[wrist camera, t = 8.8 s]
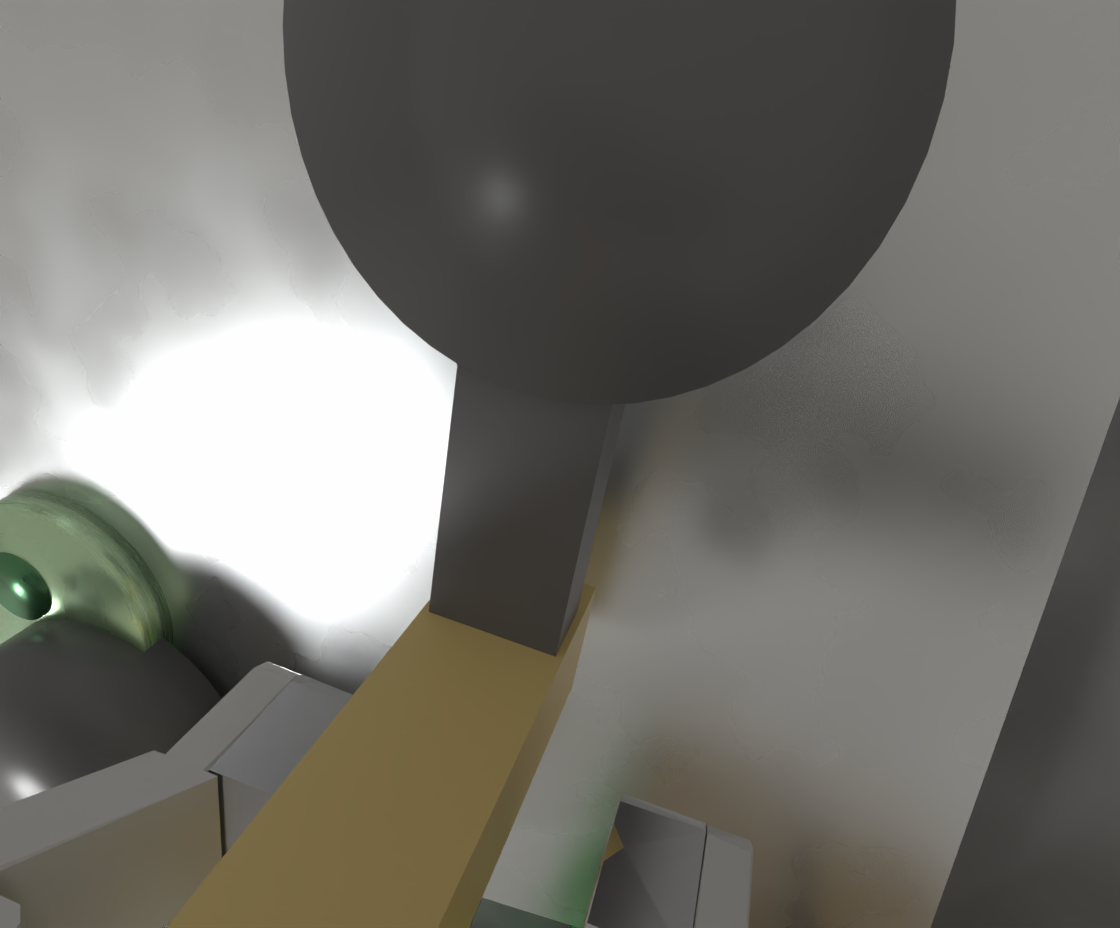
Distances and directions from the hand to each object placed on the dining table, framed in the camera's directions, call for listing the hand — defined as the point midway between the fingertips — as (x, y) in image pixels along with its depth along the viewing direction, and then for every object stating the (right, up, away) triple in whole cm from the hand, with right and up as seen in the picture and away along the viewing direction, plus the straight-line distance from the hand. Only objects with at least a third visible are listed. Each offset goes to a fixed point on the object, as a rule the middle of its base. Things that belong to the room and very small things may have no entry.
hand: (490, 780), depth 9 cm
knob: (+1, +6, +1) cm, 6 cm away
